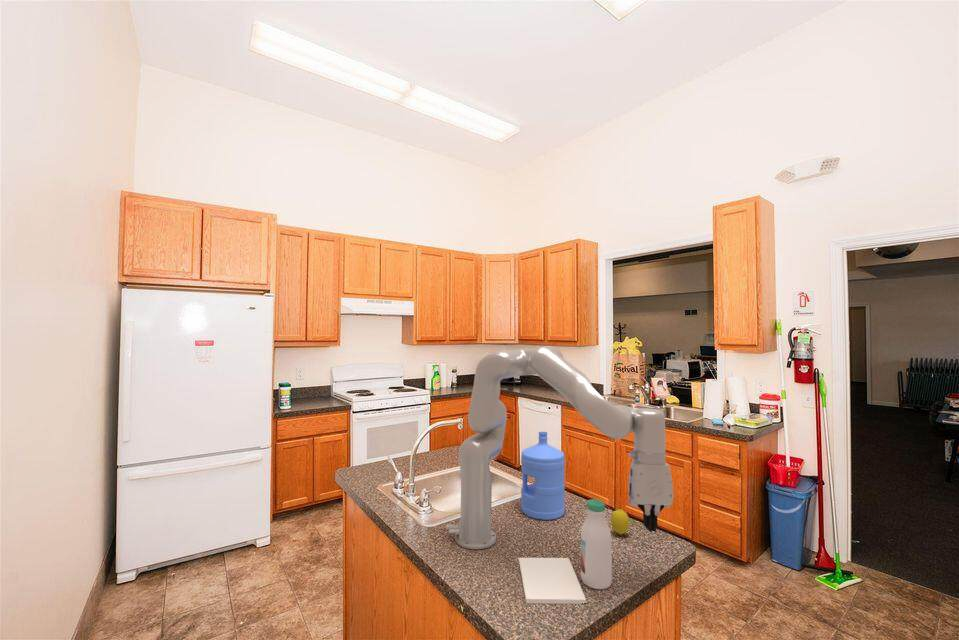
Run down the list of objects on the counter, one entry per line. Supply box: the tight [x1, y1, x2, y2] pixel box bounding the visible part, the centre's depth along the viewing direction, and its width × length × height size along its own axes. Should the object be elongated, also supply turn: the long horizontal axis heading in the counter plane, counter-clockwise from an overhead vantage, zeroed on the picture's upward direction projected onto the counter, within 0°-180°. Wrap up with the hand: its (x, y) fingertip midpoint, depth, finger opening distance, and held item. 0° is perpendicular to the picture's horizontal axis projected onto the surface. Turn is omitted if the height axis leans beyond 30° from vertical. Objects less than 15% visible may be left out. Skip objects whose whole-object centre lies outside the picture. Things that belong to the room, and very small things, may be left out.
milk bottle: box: [580, 498, 613, 590], centre depth 105 cm, size 8×8×20 cm
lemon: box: [610, 508, 630, 536], centre depth 130 cm, size 6×6×8 cm
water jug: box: [520, 431, 566, 521], centre depth 147 cm, size 16×16×28 cm
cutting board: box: [518, 557, 587, 605], centre depth 104 cm, size 14×18×1 cm
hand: (650, 529), depth 105 cm, fingers closed
